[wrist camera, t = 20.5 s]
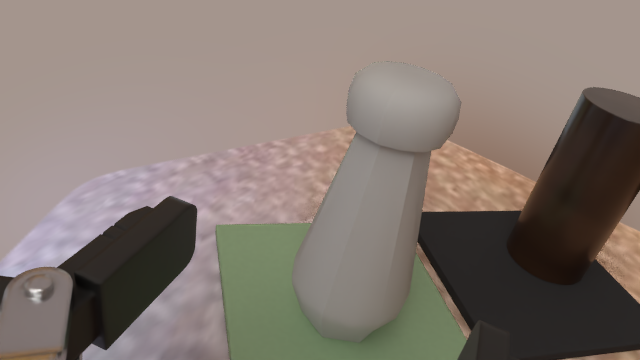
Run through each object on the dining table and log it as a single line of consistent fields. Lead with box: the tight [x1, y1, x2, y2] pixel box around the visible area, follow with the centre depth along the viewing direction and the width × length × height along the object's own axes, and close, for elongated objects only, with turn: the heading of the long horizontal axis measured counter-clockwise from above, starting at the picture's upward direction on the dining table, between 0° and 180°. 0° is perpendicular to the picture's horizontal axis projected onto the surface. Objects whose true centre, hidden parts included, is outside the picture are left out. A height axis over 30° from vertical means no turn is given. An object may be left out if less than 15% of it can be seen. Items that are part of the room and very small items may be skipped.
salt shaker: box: [292, 61, 461, 343], centre depth 22 cm, size 6×6×13 cm
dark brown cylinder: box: [507, 87, 640, 285], centre depth 29 cm, size 5×5×11 cm
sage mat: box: [215, 223, 467, 360], centre depth 26 cm, size 12×14×1 cm
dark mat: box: [417, 211, 640, 360], centre depth 31 cm, size 12×12×1 cm
